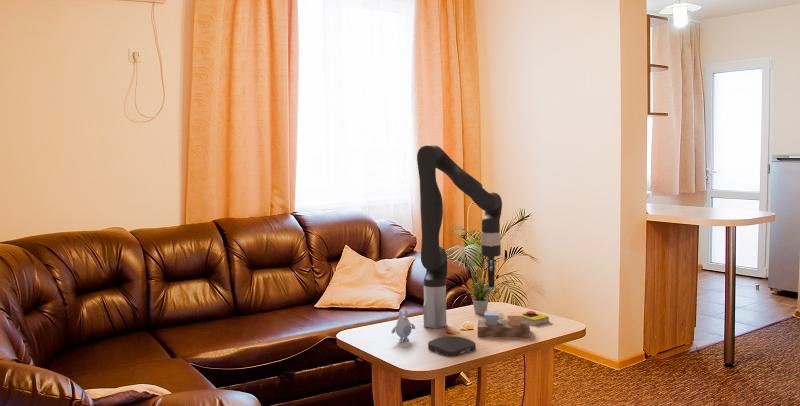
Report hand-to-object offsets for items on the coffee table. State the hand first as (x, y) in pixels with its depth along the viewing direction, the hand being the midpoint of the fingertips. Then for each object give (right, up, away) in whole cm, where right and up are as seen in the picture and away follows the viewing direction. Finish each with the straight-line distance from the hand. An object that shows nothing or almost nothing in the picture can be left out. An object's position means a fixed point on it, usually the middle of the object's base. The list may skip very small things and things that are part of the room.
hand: (491, 286), depth 231 cm
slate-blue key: (0, -15, +1) cm, 15 cm away
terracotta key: (+9, -15, 0) cm, 17 cm away
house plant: (+1, -17, +31) cm, 35 cm away
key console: (+5, -19, +1) cm, 19 cm away
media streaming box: (-17, -21, -16) cm, 31 cm away
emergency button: (+20, -18, +17) cm, 32 cm away
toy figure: (-35, -20, -6) cm, 41 cm away
